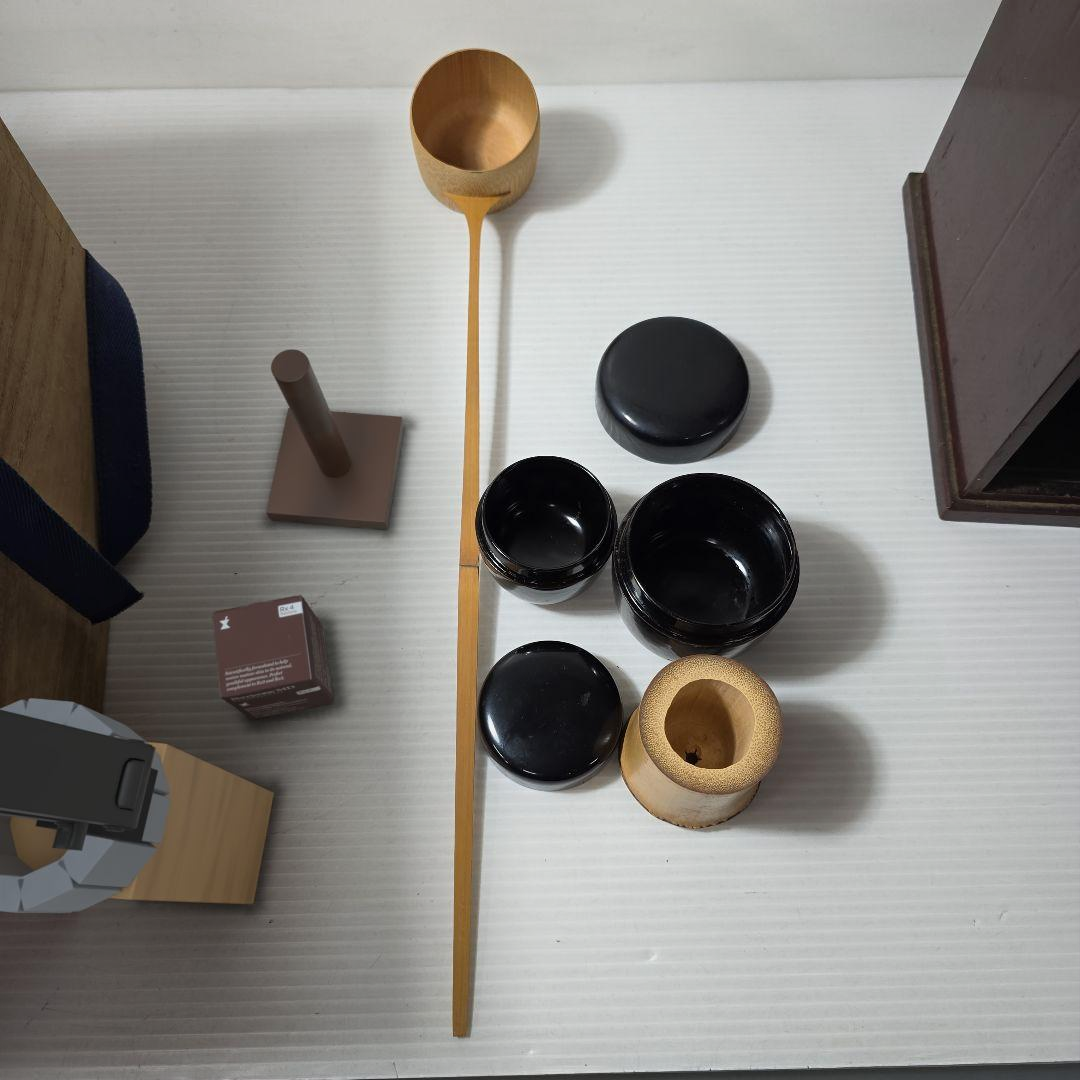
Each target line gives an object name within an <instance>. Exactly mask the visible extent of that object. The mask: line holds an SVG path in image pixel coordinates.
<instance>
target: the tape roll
mask: <svg viewBox="0 0 1080 1080" xmlns="http://www.w3.org/2000/svg"><path fill="white" fill-rule="evenodd" d="M0 710H4V711H8V712H12V713H17V714H21V715H25V716H29V717H33V718H37V719H42V720H46V721H50V722H54V723H58V724H62V725H66V726H71V727H75V728H79V729H83V730H87V731H91V732H95V733H100V734H104V735H108V736H112V737H116V738H120V739H125V740H128V739H137V740H142V741H145V744H149V743H147V742H148V741H146V740H145V739H144V738H143V737H141V736H140V735H139V734H138V733H137V732H135V731H134V730H132V729H131V728H130V727H129V726H128V725H126V724H125V723H122V722H119V721H117V720H115V719H113V718H111V717H109V716H107V715H104V714H102V713H99V712H98V711H96V710H94V709H91V708H89V707H88V706H85V705H83V704H79V703H77V702H74V701H68V700H57V699H47V698H46V699H45V698H36V697H35V698H33V697H31V698H28V699H27V700H25V699H20V700H18V701H15V702H13V703H10V704H8V705H5V706H3V707H1V708H0ZM151 768H153V769H155V770H158V774H157V778H156V782H155V787H154V791H153V795H152V799H151V804H150V808H149V812H148V817H147V821H146V825H145V830H144V834H143V838H142V843H131V842H121V841H116V840H110V839H104V838H99V837H93V836H87V835H86V837H85V841H84V845H83V849H82V851H77V850H67V852H66V853H65V854H64V855H63V856H62V858H61V859H60V860H58V861H55V862H53V863H51V864H49V865H47V866H44V867H42V868H40V869H38V870H35V871H33V870H32V869H31V868H30V867H29V866H28V865H26V864H25V863H24V862H23V861H22V860H21V859H19V858H18V857H17V853H16V849H15V845H14V841H13V837H12V833H11V829H10V825H9V823H10V820H11V816H3V815H0V912H3V913H4V912H5V913H16V914H72V913H73V912H82V911H83V910H87V909H88V908H90V907H93V906H94V905H96V904H99V903H101V902H103V901H105V900H107V899H111V898H110V897H112V896H114V895H116V894H118V893H120V892H122V889H121V887H128V886H129V885H130V883H131V882H132V881H133V880H134V878H135V877H136V876H137V875H138V874H139V872H140V871H141V870H142V869H143V867H144V866H145V865H146V864H147V862H148V861H149V860H150V859H151V857H152V856H153V855H154V854H155V853H156V851H157V850H158V849H157V848H156V847H155V846H154V845H153V844H151V843H156V844H161V841H162V837H163V832H164V828H165V823H166V819H167V814H168V810H169V806H170V801H171V799H170V798H168V797H165V795H168V794H170V793H171V792H170V788H169V785H168V782H167V779H166V776H165V772H164V769H163V766H162V763H161V760H160V756H159V754H158V753H156V752H155V753H154V757H153V761H152V766H151Z"/></svg>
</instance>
